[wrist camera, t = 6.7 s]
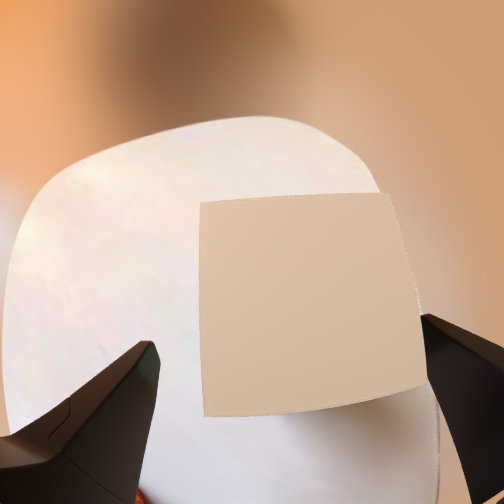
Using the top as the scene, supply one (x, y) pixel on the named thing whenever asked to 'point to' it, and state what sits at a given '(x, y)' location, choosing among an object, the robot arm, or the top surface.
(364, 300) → the tea tin
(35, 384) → the top surface
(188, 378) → the top surface
